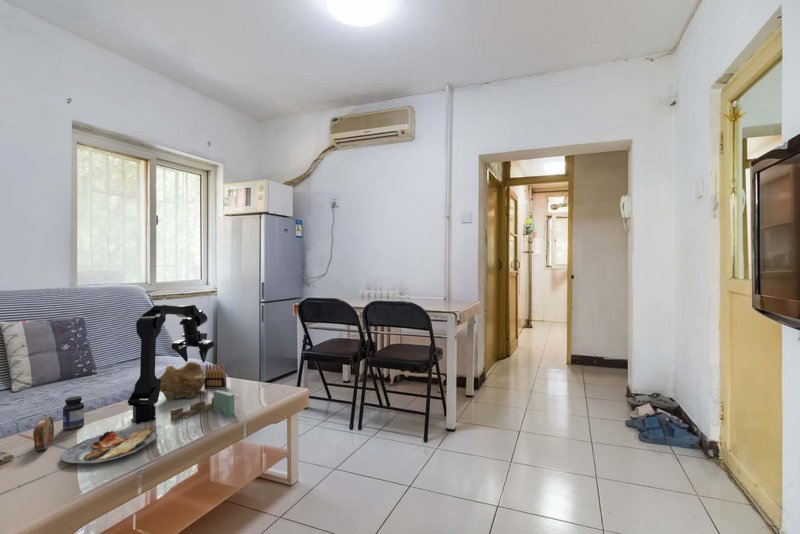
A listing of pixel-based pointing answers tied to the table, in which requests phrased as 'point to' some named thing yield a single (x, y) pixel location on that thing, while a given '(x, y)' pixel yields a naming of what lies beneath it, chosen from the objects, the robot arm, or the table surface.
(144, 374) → the robot arm
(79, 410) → the pill bottle
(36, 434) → the brown patterned slab
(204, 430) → the table surface
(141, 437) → the food plate
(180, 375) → the rough brown rock
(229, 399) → the notched crosspiece
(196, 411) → the notched base plate
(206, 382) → the ammunition clip
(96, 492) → the table surface
